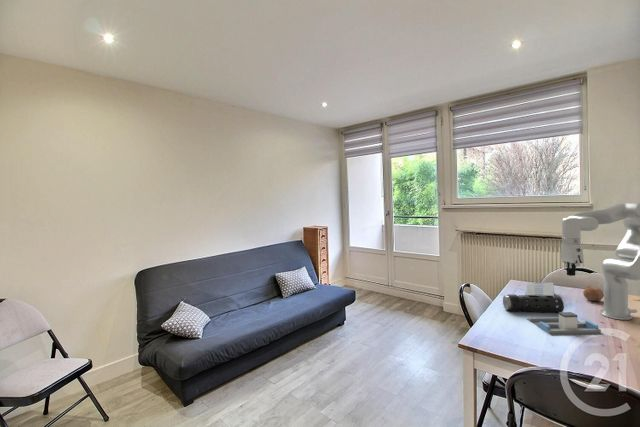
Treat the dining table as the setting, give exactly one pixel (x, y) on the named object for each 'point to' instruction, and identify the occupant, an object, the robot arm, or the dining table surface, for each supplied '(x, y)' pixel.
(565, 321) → the grey rectangular prism
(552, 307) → the muzzle brake
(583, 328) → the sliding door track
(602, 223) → the robot arm
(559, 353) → the dining table surface
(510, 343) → the dining table surface
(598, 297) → the onion
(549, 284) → the warehouse
